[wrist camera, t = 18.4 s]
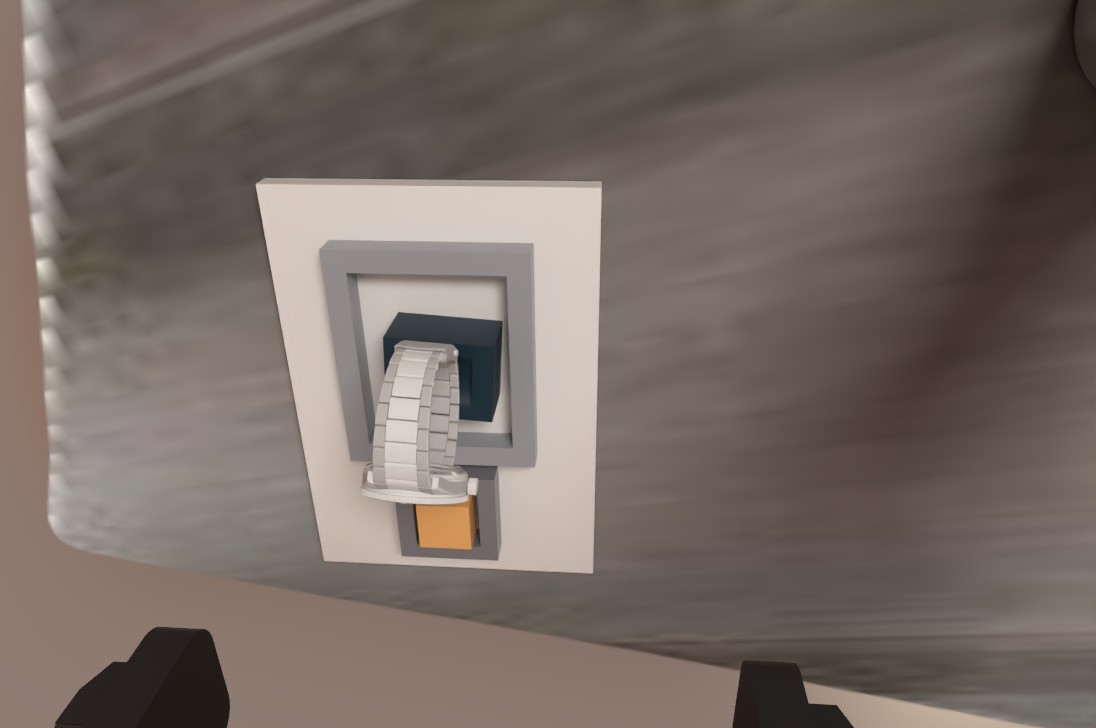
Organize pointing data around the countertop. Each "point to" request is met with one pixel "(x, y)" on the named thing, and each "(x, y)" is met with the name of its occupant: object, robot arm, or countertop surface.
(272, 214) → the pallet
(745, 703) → the robot arm
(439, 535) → the button
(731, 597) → the countertop surface
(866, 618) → the countertop surface
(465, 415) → the watch
